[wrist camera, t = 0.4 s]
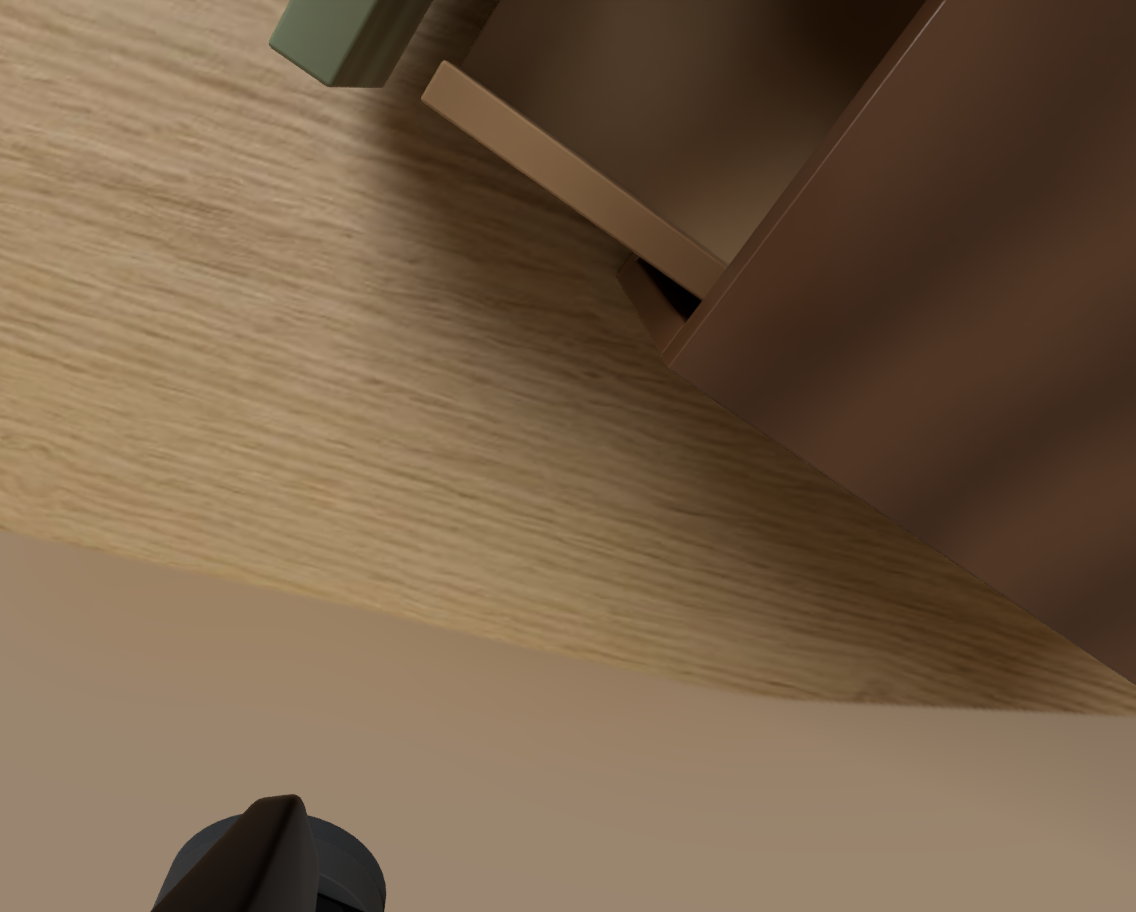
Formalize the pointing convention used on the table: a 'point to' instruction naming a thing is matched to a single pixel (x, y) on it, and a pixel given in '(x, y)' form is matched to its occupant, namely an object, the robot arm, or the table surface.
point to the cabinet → (957, 306)
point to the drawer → (631, 101)
